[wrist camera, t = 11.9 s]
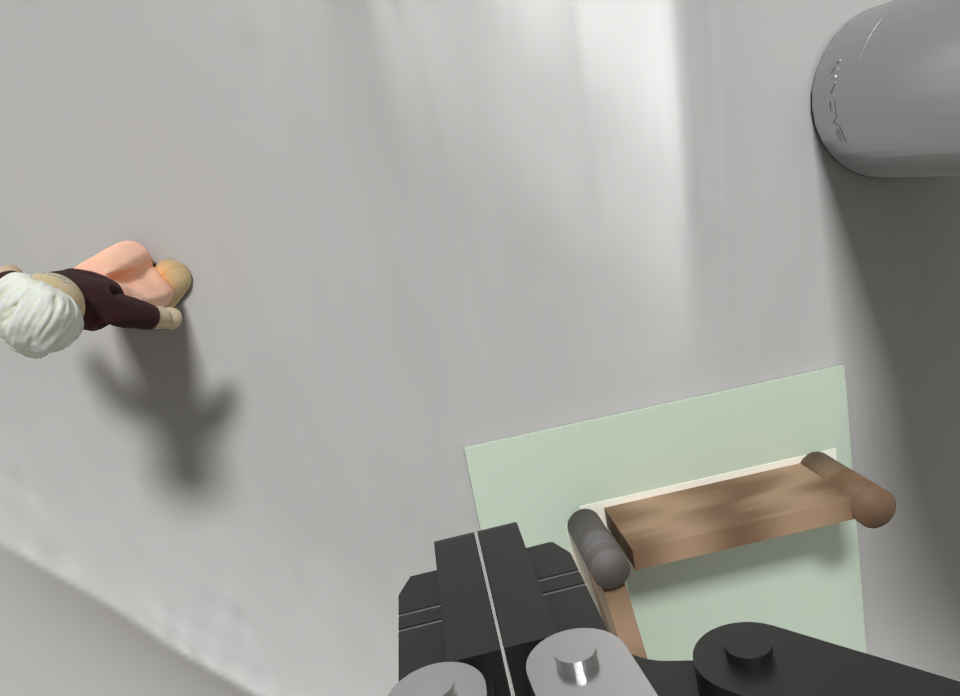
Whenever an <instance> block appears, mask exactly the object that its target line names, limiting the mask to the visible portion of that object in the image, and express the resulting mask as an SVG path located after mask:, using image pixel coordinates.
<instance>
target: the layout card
mask: <svg viewBox="0 0 960 696" xmlns="http://www.w3.org/2000/svg"><path fill="white" fill-rule="evenodd" d="M464 451H465V456H466V461H467V466H468V471H469V476H470V480H471V485H472V490H473V495H474V500H475V505H476V510H477V515H478V520H479V525H480V530H484V529H488V528H492V527H497V526H501V525H505V524H509V523H513V522H517V524H518V527H519V530H520V533H521V535H522V538H523V541H524V544H525V546H526V548H528V547H532V546H536V545H540V544H544V543H548V542H554V543H555V544H557V545H559V546H560V547H562V548H563V549H565V550H567V551H568V552H570V553H571V555H572V557H573V559H574V561H575V563H576V566H577V568H578V571H579V572H580V574H581V576H582V578H583V580H584V582H585V586H587V588H588V590H589V593H590V595H591V597H592V599H593V601H594V603H595V605H596V607H597V609H598V611H599V613H600V609H599V606H598V603H597V600H596V596H595V593H594V590H593V587H592V583H591V580H590V577H589V574H588V570H587V567H586V564H585V562H584V560H583V558H582V556H581V554H580V553H579V551H578V549H577V547H576V545H575V543H574V541H573V539H572V537H571V535H570V533H569V531H568V527H567V525H568V520H569V518H570V517H571V515H572V514H573V513H575V512H576V511H578V510H581V509H590V510H593V511H594V512H596V513H597V514H598V516H599V517H600V519H601V520H602V522H603V523H604V525H605V526H606V528H607V530H608V531H609V533H610V534H611V536H612V537H613V539H614V540H615V542H616V544H617V545H618V547H619V548H620V550H621V551H622V553H623V555H624V556H625V558H626V559H627V561H628V563H629V566H630V573H629V576H628V578H627V580H626V581H625V582H624V583H625V585H626V588H627V591H628V594H629V598H630V601H631V604H632V608H633V611H634V615H635V618H636V621H637V625H638V628H639V632H640V635H641V638H642V642H643V645H644V649H645V652H646V655H647V659H650V660H658V661H684V660H693V649H694V647H695V645H696V643H697V642H698V640H699V639H700V638H701V637H702V636H703V635H704V634H706V633H707V632H709V631H710V630H712V629H715V628H717V627H719V626H723V625H726V624H731V623H736V622H758V623H765V624H769V625H773V626H777V627H780V628H783V629H786V630H790V631H793V632H796V633H800V634H803V635H806V636H810V637H813V638H816V639H820V640H823V641H826V642H830V643H833V644H836V645H840V646H843V647H846V648H849V649H853V650H856V651H859V652H863V653H866V654H867V650H866V637H865V624H864V611H863V599H862V586H861V573H860V560H859V547H858V534H857V521H856V520H855V519H853V520H849V521H844V522H840V523H836V524H832V525H827V526H823V527H819V528H815V529H810V530H806V531H802V532H798V533H793V534H789V535H785V536H781V537H776V538H772V539H768V540H764V541H759V542H755V543H751V544H746V545H742V546H738V547H734V548H729V549H725V550H721V551H717V552H712V553H708V554H704V555H700V556H695V557H691V558H687V559H683V560H678V561H674V562H670V563H666V564H661V565H657V566H653V567H649V568H644V569H640V570H635V569H634V567H633V566H632V564H631V563H630V561H629V559H628V558H627V556H626V555H625V553H624V552H623V550H622V549H621V547H620V546H619V544H618V542H617V541H616V539H615V538H614V536H613V535H612V533H611V532H610V530H609V529H608V527H607V523H606V517H605V511H604V508H605V507H610V506H614V505H618V504H623V503H627V502H632V501H636V500H640V499H645V498H649V497H654V496H658V495H662V494H667V493H671V492H676V491H680V490H684V489H689V488H693V487H697V486H702V485H706V484H711V483H715V482H719V481H724V480H728V479H733V478H737V477H741V476H746V475H750V474H755V473H759V472H763V471H768V470H772V469H777V468H781V467H785V466H790V465H794V464H798V463H800V462H801V461H802V459H803V458H804V457H805V456H807V454H809V453H811V452H815V451H818V452H823V453H825V454H827V455H828V456H830V457H832V458H833V459H835V460H836V461H838V462H840V463H841V464H843V465H845V466H846V467H848V468H850V469H851V470H853V469H852V456H851V443H850V430H849V417H848V404H847V391H846V378H845V366H842V365H838V366H833V367H829V368H824V369H820V370H815V371H810V372H806V373H801V374H797V375H792V376H788V377H783V378H778V379H774V380H769V381H765V382H760V383H755V384H751V385H746V386H742V387H737V388H733V389H728V390H723V391H719V392H714V393H710V394H705V395H701V396H696V397H691V398H687V399H682V400H678V401H673V402H668V403H664V404H659V405H655V406H650V407H646V408H641V409H636V410H632V411H627V412H623V413H618V414H613V415H609V416H604V417H600V418H595V419H591V420H586V421H581V422H577V423H572V424H568V425H563V426H559V427H554V428H549V429H545V430H540V431H536V432H531V433H526V434H522V435H517V436H513V437H508V438H504V439H499V440H494V441H490V442H485V443H481V444H476V445H471V446H467V447H464ZM600 615H601V613H600ZM601 618H602V616H601ZM602 620H603V619H602ZM507 664H508V663H507ZM508 669H509V667H508ZM509 673H510V672H509ZM510 678H511V676H510ZM511 683H512V680H511ZM512 688H513V685H512ZM513 693H514V689H513ZM514 696H515V693H514Z"/></svg>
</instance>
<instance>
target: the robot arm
mask: <svg viewBox="0 0 960 696" xmlns="http://www.w3.org/2000/svg"><path fill="white" fill-rule="evenodd" d="M812 110H813V115H814V121H815V126H816V128H817V131H818V133H819V136H820V138H821V140H822V142H823V144H824V145H825V147H826V148H827V150H828V151H829V152H830V154H831V155H832V156H833V157H834V158H835V159H836V160H837V161H838V162H840V163H841V164H842V165H843V166H845V167H846V168H848V169H850V170H852V171H854V172H856V173H858V174H862V175H865V176H869V177H884V178H891V177H940V176H960V0H893V1H890V2H888V3H885V4H882V5H880V6H877V7H875V8H872V9H870V10H868V11H865V12H863V13H861V14H859V15H858V16H857V17H855V18H854V19H852V20H851V21H849V22H848V23H847V24H846V25H845V26H844V27H843V28H842V29H841V30H840V31H839V32H838V33H837V34H836V35H835V36H834V37H833V39H832V40H831V42H830V43H829V45H828V47H827V48H826V50H825V51H824V53H823V55H822V58H821V60H820V63H819V65H818V67H817V70H816V74H815V79H814V84H813V89H812ZM477 532H478V537H479V541H480V545H481V550H482V554H483V559H484V563H485V567H486V572H487V576H488V580H489V585H490V589H491V594H492V598H493V602H494V607H495V611H496V616H497V620H498V624H499V629H500V633H501V637H502V642H503V646H504V650H505V655H506V659H507V663H508V667H509V672H510V676H511V680H512V685H513V689H514V693H515V696H960V682H959V681H956V680H952V679H949V678H946V677H942V676H939V675H936V674H932V673H929V672H926V671H922V670H919V669H916V668H912V667H909V666H906V665H903V664H899V663H896V662H893V661H889V660H886V659H883V658H879V657H876V656H873V655H869V654H866V653H863V652H859V651H856V650H853V649H849V648H846V647H843V646H840V645H836V644H833V643H830V642H826V641H823V640H820V639H816V638H813V637H810V636H806V635H803V634H800V633H796V632H793V631H790V630H786V629H783V628H780V627H777V626H773V625H769V624H765V623H758V622H736V623H731V624H726V625H723V626H719V627H717V628H715V629H712V630H710V631H709V632H707V633H706V634H704V635H703V636H702V637H701V638H700V639H699V640H698V642H697V643H696V645H695V647H694V649H693V660H684V661H658V660H650V659H646V658H641V657H638V656H635V655H633V654H631V653H630V652H629V650H628V648H627V647H626V645H625V644H624V643H623V642H622V640H621V639H619V638H618V637H617V636H615V635H613V634H611V633H609V632H608V630H607V628H606V626H605V624H604V622H603V620H602V618H601V615H600V613H599V611H598V609H597V607H596V605H595V603H594V601H593V599H592V597H591V595H590V593H589V590H588V588H587V586H585V582H584V580H583V578H582V576H581V574H580V572H579V571H578V568H577V566H576V563H575V561H574V559H573V557H572V555H571V553H570V552H568V551H567V550H565V549H563V548H562V547H560V546H559V545H557V544H555V543H554V542H548V543H544V544H540V545H536V546H532V547H528V548H526V546H525V544H524V541H523V538H522V535H521V533H520V530H519V527H518V524H517V522H513V523H509V524H505V525H501V526H497V527H492V528H488V529H484V530H480V531H477ZM434 545H435V555H436V565H437V570H435V571H431V572H427V573H423V574H419V575H415V576H411V577H410V578H409V580H408V581H407V583H406V585H405V586H404V588H403V589H402V591H401V593H400V594H399V682H398V683H397V684H396V685H395V686H394V687H393V688H392V690H391V691H390V693H389V694H388V696H511V694H510V689H509V685H508V680H507V676H506V671H505V667H504V663H503V658H502V654H501V649H500V645H499V640H498V636H497V631H496V627H495V623H494V618H493V614H492V610H491V605H490V601H489V596H488V592H487V588H486V583H485V579H484V575H483V570H482V566H481V562H480V557H479V553H478V549H477V544H476V540H475V536H474V532H473V533H468V534H464V535H460V536H456V537H452V538H448V539H444V540H440V541H436V542H434Z"/></svg>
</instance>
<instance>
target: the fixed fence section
mask: <svg viewBox="0 0 960 696" xmlns="http://www.w3.org/2000/svg"><path fill="white" fill-rule="evenodd" d="M895 509H896V502H895V499H894V497H893V495H892V494H891V493H889V492H888V491H886V490H885V489H883V488H881V487H880V486H878V485H876V484H875V483H873V482H871V481H870V480H868V479H866V478H865V477H863V476H861V475H860V474H858V473H856V472H855V471H853V470H851V469H850V468H848V467H846V466H845V465H843V464H841V463H840V462H838V461H836V460H835V459H833V458H832V457H830V456H828V455H827V454H825V453H823V452H818V451H815V452H811V453H809V454H807V456H805V457H804V458H803V459H802V461H801V462H800V463H798V464H794V465H790V466H785V467H781V468H777V469H772V470H768V471H763V472H759V473H755V474H750V475H746V476H741V477H737V478H733V479H728V480H724V481H719V482H715V483H711V484H706V485H702V486H697V487H693V488H689V489H684V490H680V491H676V492H671V493H667V494H662V495H658V496H654V497H649V498H645V499H640V500H636V501H632V502H627V503H623V504H618V505H614V506H610V507H605V508H604V511H605V517H606V523H607V527H608V529H609V530H610V532H611V533H612V535H613V536H614V538H615V539H616V541H617V542H618V544H619V546H620V547H621V549H622V550H623V552H624V553H625V555H626V556H627V558H628V559H629V561H630V563H631V564H632V566H633V567H634V569H635V570H640V569H644V568H649V567H653V566H657V565H661V564H666V563H670V562H674V561H678V560H683V559H687V558H691V557H695V556H700V555H704V554H708V553H712V552H717V551H721V550H725V549H729V548H734V547H738V546H742V545H746V544H751V543H755V542H759V541H764V540H768V539H772V538H776V537H781V536H785V535H789V534H793V533H798V532H802V531H806V530H810V529H815V528H819V527H823V526H827V525H832V524H836V523H840V522H844V521H849V520H853V519H855V520H857V521H858V522H859V523H861V524H862V525H864V526H866V527H868V528H878V527H881V526H883V525H885V524H886V523H888V522H889V521H890V520H891V518H892V517H893V515H894V513H895Z"/></svg>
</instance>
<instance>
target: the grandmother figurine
mask: <svg viewBox="0 0 960 696" xmlns="http://www.w3.org/2000/svg"><path fill="white" fill-rule="evenodd" d="M191 282H192V276H191V273H190V271H189V270H188V268H187V267H186V266H185V265H183V264H181V263H180V262H178V261H175V260H163V261H161V262H159V263H158V264H157V265H156V266H155V267H154V266H153V263H152V259H151V256H150V254H149V252H148V251H147V249H146V248H144V247H143V246H142V245H140V244H139V243H137V242H133V241H122V242H120V243H116V244H114V245H112V246H110V247H108V248H107V249H105V250H103V251H101V252H99V253H98V254H96V255H95V256H93V257H91V258H89V259H87V260H85V261H84V262H82V263H80V264H78V265H77V266H76V267H75V268H71V269H65V270H62V271H54V272H40V273H35V274H32V275H29V274H26V273H22V271H21V270H20V269H19V268H18V267H16V266H14V265H5V266H2V267H1V268H0V337H1V338H2V339H3V341H4V343H5V344H7V345H8V346H9V347H10V349H12V350H13V351H15V352H18V353H21V354H22V355H24V356H26V357H30V358H35V359H37V358H42V357H44V356H47V355H48V354H49V353H52V352H57V351H60V350H63V349H65V348H66V347H68V346H70V345H71V344H72V343H73V342H74V341H75V340H76V339H77V338H78V337H79V336H80V334H81V332H82V331H83V329H84V330H89V331H96V330H99V329H102V328H104V327H105V326H107V325H109V324H111V325H113V326H117V327H123V328H135V329H143V330H152V329H163V328H165V329H168V330H172V329H176V328H178V327H179V326H180V325H181V323H182V320H183V317H182V314H181V312H180V311H179V310H178V309H176V308H174V307H175V306H176V305H177V303H178V302H179V301H180V300H181V298H182V297H183V296H184V294H185V293H186V292H187V290H188V289H189V287H190V285H191Z"/></svg>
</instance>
